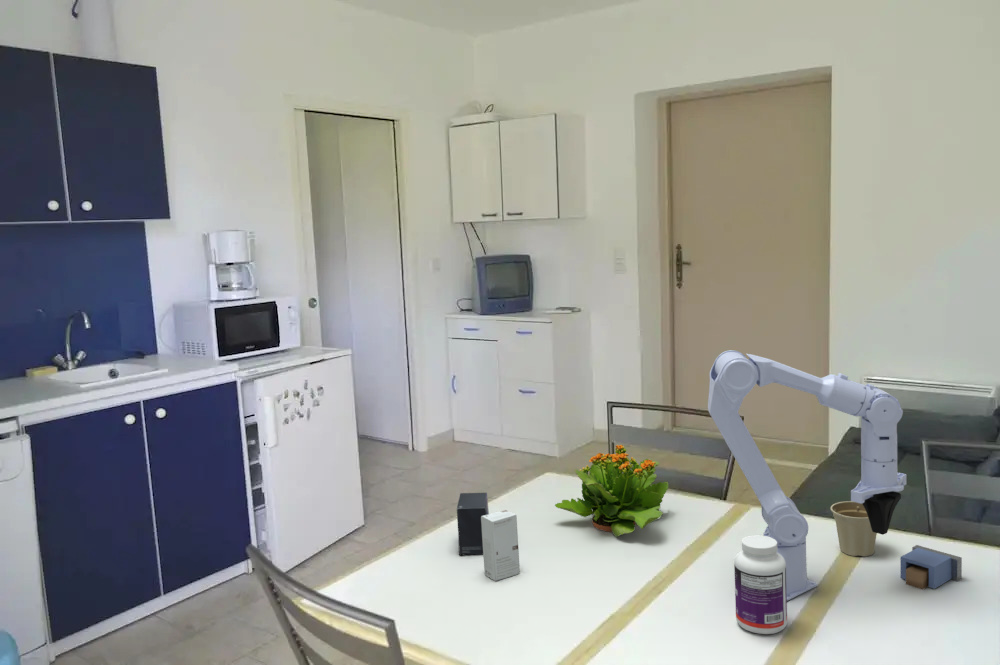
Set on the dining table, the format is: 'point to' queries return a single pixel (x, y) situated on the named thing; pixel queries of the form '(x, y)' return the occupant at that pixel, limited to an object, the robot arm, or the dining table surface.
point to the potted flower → (618, 493)
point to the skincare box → (500, 545)
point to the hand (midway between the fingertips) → (879, 532)
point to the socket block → (928, 565)
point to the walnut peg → (917, 576)
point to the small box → (471, 522)
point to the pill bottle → (760, 586)
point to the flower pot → (853, 529)
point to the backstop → (955, 563)
